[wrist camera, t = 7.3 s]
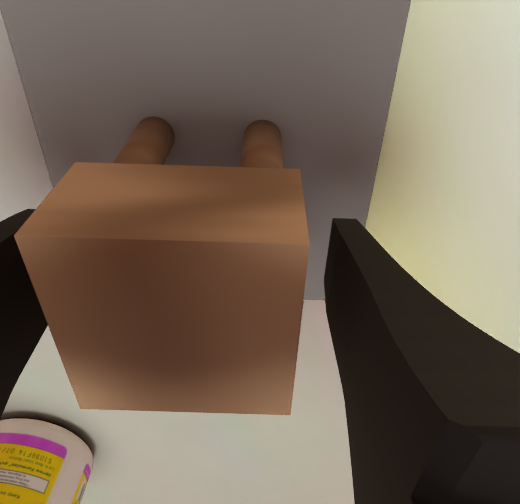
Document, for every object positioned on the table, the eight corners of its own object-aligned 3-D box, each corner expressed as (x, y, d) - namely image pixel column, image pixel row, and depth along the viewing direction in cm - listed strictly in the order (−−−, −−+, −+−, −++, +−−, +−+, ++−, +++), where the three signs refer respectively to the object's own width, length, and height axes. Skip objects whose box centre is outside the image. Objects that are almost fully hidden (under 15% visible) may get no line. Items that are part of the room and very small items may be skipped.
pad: (408, -11, 12) (412, -9, 11) (348, 294, 18) (350, 300, 18) (-1, -22, 12) (-9, -21, 11) (87, 286, 18) (84, 292, 18)
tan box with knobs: (292, 110, 13) (309, 244, 8) (283, 248, 16) (290, 415, 11) (122, 105, 13) (14, 235, 8) (145, 244, 16) (80, 408, 11)
